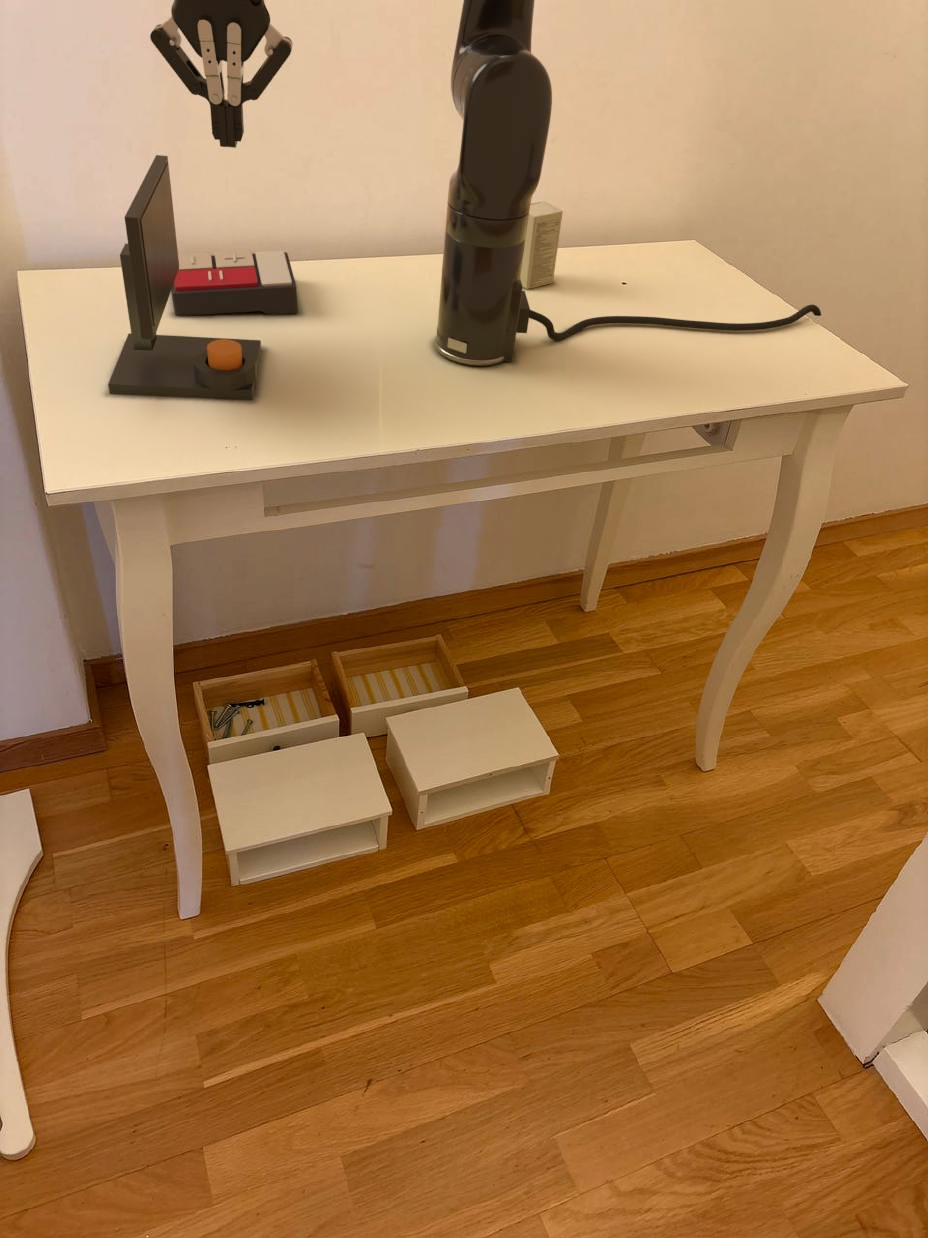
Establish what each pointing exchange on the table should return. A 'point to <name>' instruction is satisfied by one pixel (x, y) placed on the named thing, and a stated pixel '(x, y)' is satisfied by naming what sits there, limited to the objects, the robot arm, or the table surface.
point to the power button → (224, 354)
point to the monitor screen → (152, 245)
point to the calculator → (234, 283)
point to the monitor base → (183, 370)
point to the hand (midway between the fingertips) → (229, 144)
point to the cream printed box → (540, 245)
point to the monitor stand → (133, 303)
